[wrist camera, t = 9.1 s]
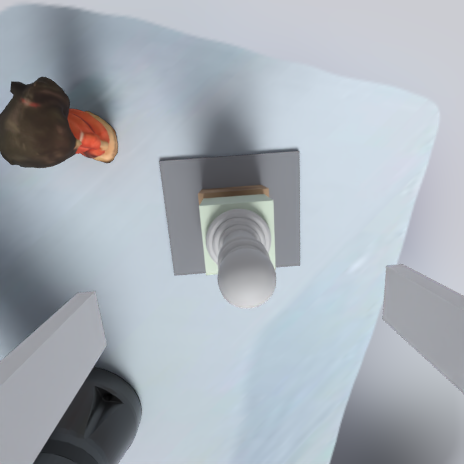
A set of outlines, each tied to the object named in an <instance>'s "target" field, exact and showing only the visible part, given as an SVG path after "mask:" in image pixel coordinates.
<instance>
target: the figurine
mask: <svg viewBox="0 0 464 464" xmlns="http://www.w3.org/2000/svg"><path fill="white" fill-rule="evenodd" d="M10 92H11V93H12V94H13V98H12V99H11V100H10V102H9V103H8V105H7V106H6V107H5V109H4V110H3V112H2V113H1V114H0V152H1V155H2V156H3V158H4V159H5V160H7V161H8V162H9V163H10V164H11V165H20V166H21V167H34V168H46V167H51V166H55V165H57V164H60V163H61V162H63V161H65V160H66V159H68V158H70V157H72V156H73V155H75V154H79V153H81V154H82V155H84V156H86V157H88V158H93V159H95V160H98V161H102V162H105V163H110V162H111V161H113V160H114V157H115V156H116V154H117V153H118V143H117V138H116V133H115V131H114V129H113V128H112V127H111V126H110V125H109V124H108V123H107V122H106V121H104V120H103V119H101V118H100V117H99V116H97V115H94V114H93V113H91V112H89V111H85V112H84V111H81V110H77V109H69V107H70V101H69V98H68V96H67V95H66V94H65V93H64V91H63V89H62V88H61V87H59V86H58V85H57V84H56V83H55V82H54V81H52V80H51V79H49V78H47V77H40V78H38V79H37V81H35V82H34V83H32V84H28V85H25V84H23V83H20V82H12V81H11V90H10Z"/></svg>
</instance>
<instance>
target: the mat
mask: <svg viewBox="0 0 464 464" xmlns="http://www.w3.org/2000/svg"><path fill="white" fill-rule="evenodd" d="M159 164H160V172H161V179H162V187H163V194H164V201H165V209H166V216H167V223H168V231H169V238H170V245H171V253H172V260H173V268H174V275H188V274H200V273H206V268H205V259H204V249H203V239H202V230H201V220H200V210H199V199H198V193H199V192H200V191H201V190H202V189H212V188H226V187H239V186H252V185H263V186H265V187H267V188H269V198H271V199H272V200H273V203H274V234H275V265H276V267H287V266H299V265H300V167H299V151H291V152H277V153H264V154H250V155H236V156H222V157H209V158H195V159H181V160H167V161H159Z"/></svg>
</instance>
